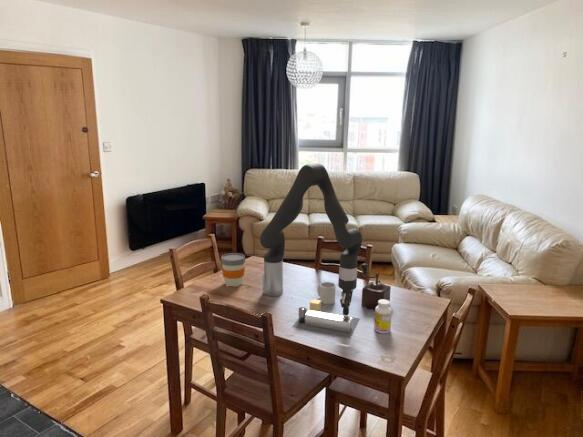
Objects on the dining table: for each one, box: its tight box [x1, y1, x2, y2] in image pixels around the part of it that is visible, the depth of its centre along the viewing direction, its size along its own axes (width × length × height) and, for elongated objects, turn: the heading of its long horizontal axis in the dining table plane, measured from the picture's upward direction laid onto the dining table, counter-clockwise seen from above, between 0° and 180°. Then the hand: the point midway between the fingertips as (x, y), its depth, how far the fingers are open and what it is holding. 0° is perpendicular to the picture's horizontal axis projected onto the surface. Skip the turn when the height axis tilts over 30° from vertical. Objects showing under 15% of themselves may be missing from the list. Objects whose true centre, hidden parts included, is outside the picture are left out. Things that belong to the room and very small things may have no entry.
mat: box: [291, 308, 361, 339], centre depth 182 cm, size 25×18×1 cm
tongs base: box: [298, 306, 351, 332], centre depth 178 cm, size 23×4×6 cm, turn 69°
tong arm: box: [307, 309, 353, 329], centre depth 179 cm, size 19×2×4 cm, turn 69°
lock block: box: [309, 298, 322, 312], centre depth 189 cm, size 4×4×6 cm
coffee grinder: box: [360, 263, 392, 312], centre depth 199 cm, size 16×11×18 cm
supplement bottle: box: [374, 299, 393, 334], centre depth 175 cm, size 7×7×13 cm
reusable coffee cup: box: [220, 252, 246, 287], centre depth 222 cm, size 12×13×15 cm
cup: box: [317, 281, 337, 305], centre depth 203 cm, size 7×10×9 cm
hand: (345, 314), depth 180 cm, fingers closed
